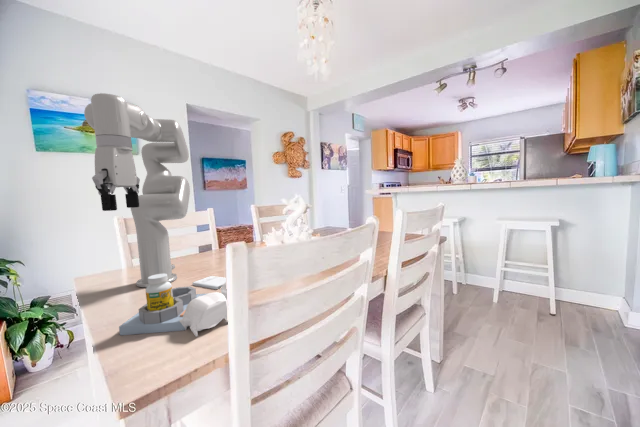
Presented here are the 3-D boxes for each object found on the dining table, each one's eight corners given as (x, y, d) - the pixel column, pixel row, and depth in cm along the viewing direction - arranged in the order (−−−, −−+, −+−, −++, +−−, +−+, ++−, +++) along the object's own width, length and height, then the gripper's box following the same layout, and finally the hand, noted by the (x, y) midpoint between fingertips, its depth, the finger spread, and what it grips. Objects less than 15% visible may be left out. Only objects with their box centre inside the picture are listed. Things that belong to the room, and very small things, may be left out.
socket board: (160, 303, 76) (159, 288, 75) (210, 300, 77) (209, 284, 76) (119, 335, 59) (117, 315, 58) (185, 330, 60) (183, 310, 59)
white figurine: (206, 350, 57) (257, 302, 67) (188, 321, 54) (244, 275, 64) (187, 337, 62) (237, 295, 73) (170, 310, 59) (225, 270, 70)
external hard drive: (218, 291, 85) (192, 286, 91) (237, 283, 92) (212, 279, 98) (217, 286, 85) (192, 281, 91) (236, 278, 92) (212, 274, 98)
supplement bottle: (174, 308, 67) (171, 271, 66) (174, 316, 62) (170, 276, 62) (149, 313, 64) (145, 275, 64) (147, 322, 60) (143, 281, 59)
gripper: (120, 149, 79) (127, 207, 80) (72, 139, 61) (82, 212, 63) (147, 148, 79) (153, 205, 81) (106, 138, 62) (115, 211, 64)
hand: (122, 208), depth 72 cm, fingers open, 9 cm apart
